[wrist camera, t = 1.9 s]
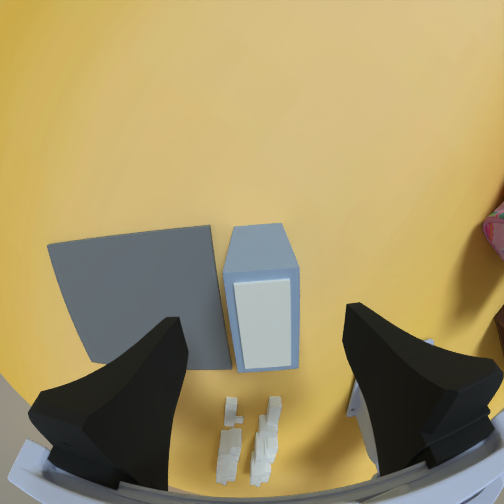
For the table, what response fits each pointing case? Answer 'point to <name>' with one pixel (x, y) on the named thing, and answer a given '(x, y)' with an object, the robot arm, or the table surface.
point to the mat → (144, 291)
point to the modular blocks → (262, 447)
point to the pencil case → (495, 230)
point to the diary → (500, 325)
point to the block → (263, 298)
